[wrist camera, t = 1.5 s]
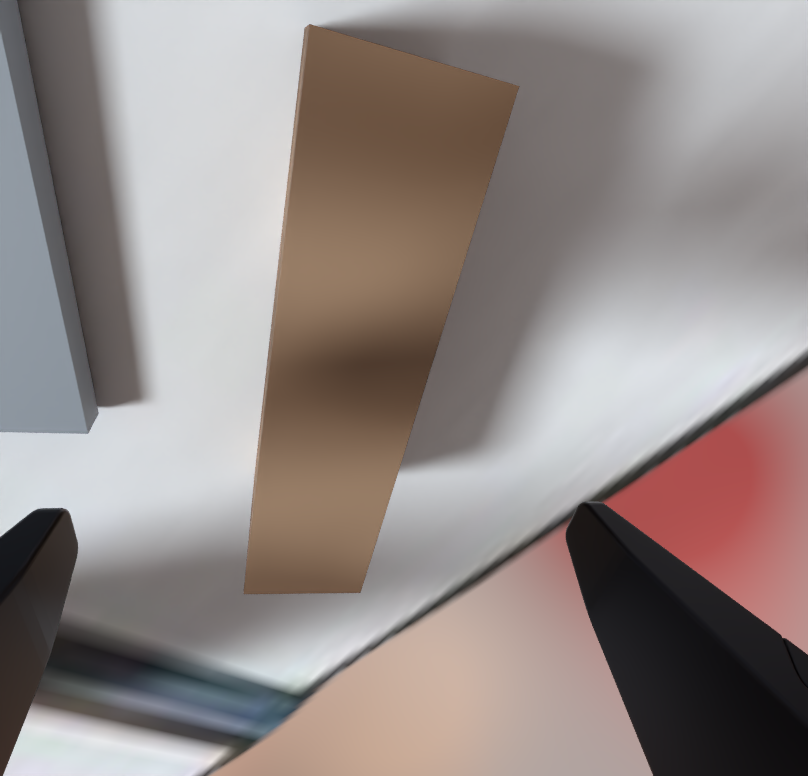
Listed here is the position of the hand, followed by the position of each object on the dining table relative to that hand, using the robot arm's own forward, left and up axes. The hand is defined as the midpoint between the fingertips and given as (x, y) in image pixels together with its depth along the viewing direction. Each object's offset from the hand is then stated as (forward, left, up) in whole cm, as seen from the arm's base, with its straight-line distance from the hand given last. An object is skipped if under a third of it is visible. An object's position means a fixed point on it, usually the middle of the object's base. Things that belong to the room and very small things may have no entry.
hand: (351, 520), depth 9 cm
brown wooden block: (0, 0, -8) cm, 8 cm away
